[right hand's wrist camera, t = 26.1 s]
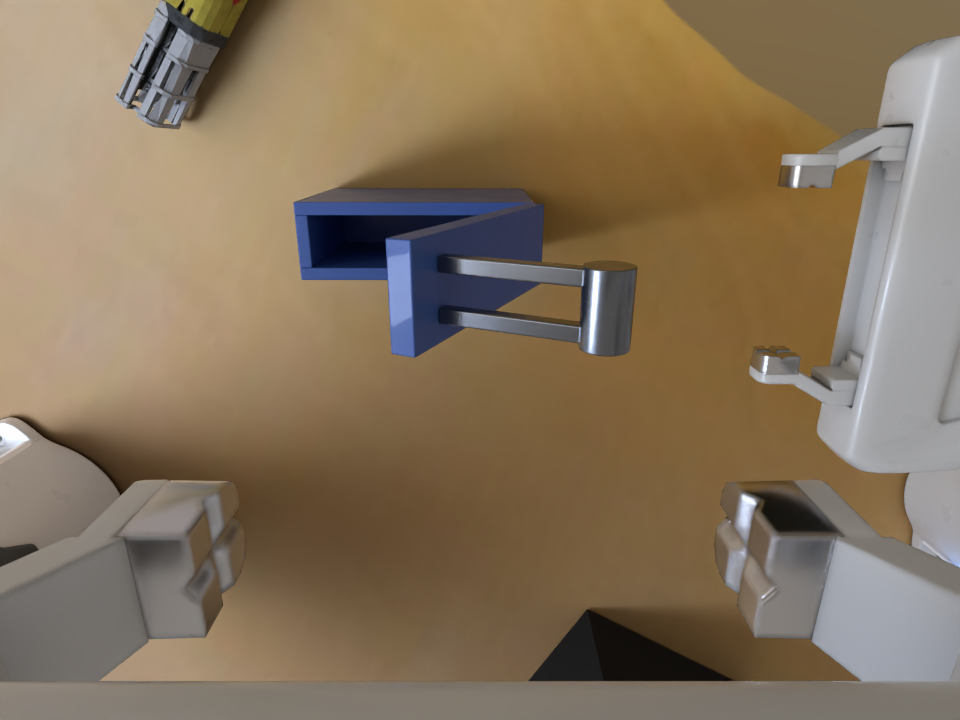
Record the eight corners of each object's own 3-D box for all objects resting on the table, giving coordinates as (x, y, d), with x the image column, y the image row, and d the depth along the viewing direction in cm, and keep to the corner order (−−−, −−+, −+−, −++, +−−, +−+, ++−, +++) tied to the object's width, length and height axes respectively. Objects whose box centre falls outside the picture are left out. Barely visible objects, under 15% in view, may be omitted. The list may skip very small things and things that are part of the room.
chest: (338, 250, 48) (301, 280, 38) (333, 188, 46) (293, 202, 36) (521, 250, 48) (531, 280, 38) (522, 188, 46) (534, 202, 36)
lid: (390, 354, 25) (613, 392, 21) (384, 238, 23) (624, 257, 20) (523, 281, 37) (677, 297, 34) (525, 203, 36) (687, 210, 32)
